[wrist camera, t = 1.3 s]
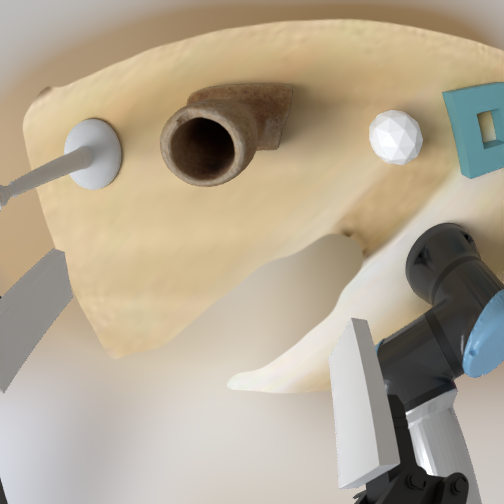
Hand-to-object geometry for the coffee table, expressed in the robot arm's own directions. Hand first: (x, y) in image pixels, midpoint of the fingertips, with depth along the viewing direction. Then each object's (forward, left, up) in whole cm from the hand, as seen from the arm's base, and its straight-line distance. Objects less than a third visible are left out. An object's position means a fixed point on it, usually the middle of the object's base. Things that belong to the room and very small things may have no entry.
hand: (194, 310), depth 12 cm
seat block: (-6, -39, -34) cm, 52 cm away
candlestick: (+14, +25, -34) cm, 45 cm away
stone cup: (+6, +1, -34) cm, 34 cm away
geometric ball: (-3, -19, -34) cm, 39 cm away
